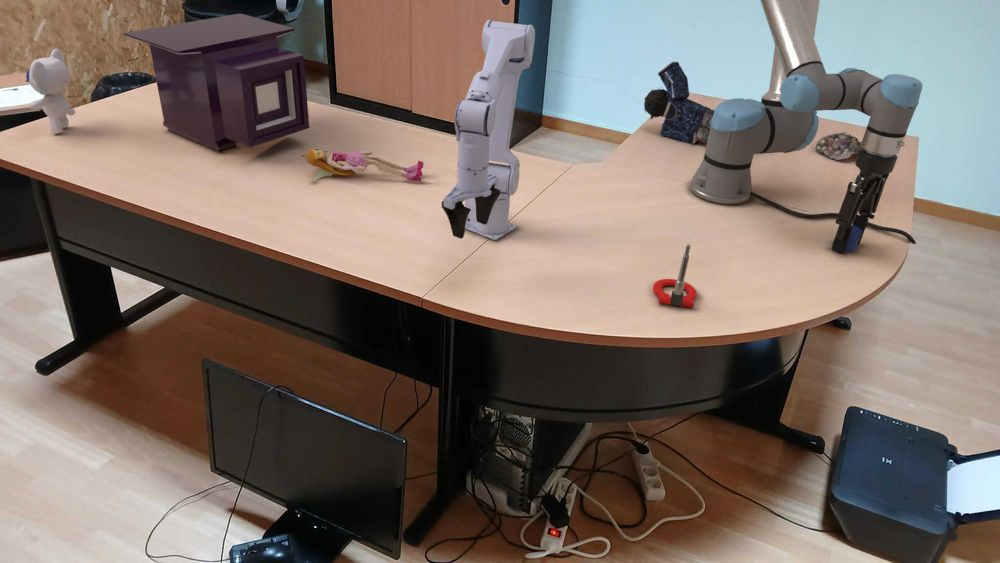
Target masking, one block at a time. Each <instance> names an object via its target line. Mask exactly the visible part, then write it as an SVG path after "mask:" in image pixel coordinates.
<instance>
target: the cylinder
mask: <svg viewBox="0 0 1000 563" xmlns="http://www.w3.org/2000/svg"><path fill="white" fill-rule="evenodd" d="M852 227H853V229H852V232H851V234H850V237H849V240H848V243H847V246H846V248H845V251H844V253H855V252H856V250H857V247H858V246H859V245H858V242H859V239H860V236H861V234H862V230H861V229H860V228H858V227H856V226H853V225H852Z"/></svg>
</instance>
